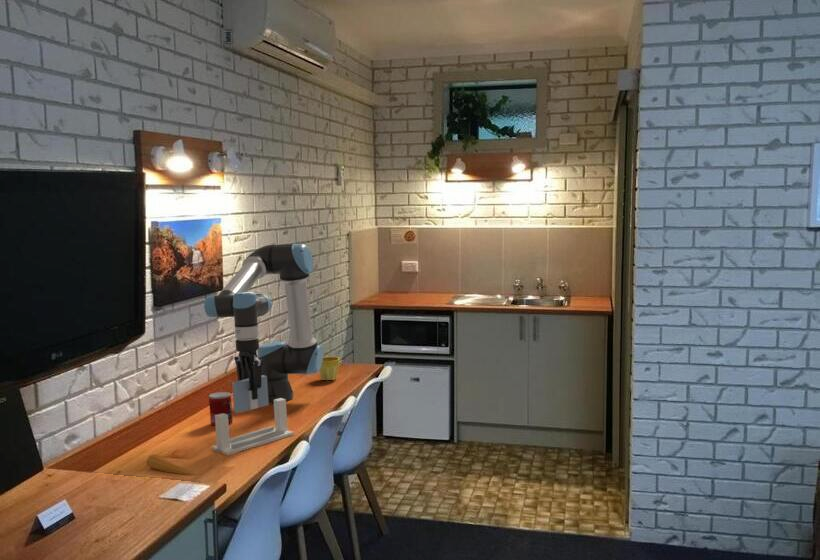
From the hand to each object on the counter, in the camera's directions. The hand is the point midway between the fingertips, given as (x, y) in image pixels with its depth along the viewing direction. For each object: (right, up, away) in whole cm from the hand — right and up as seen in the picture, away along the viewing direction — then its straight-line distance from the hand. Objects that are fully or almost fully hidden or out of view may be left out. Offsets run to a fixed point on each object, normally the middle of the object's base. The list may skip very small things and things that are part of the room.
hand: (251, 407), depth 242 cm
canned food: (-16, -10, +24) cm, 31 cm away
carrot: (-18, -15, -24) cm, 34 cm away
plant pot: (+16, -3, +87) cm, 88 cm away
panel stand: (+1, -12, +1) cm, 12 cm away
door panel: (0, 0, 0) cm, 0 cm away
